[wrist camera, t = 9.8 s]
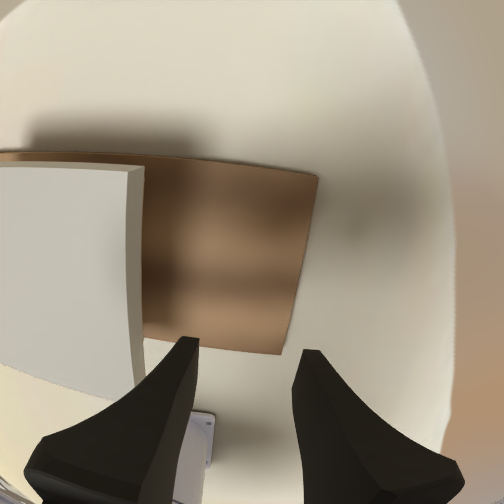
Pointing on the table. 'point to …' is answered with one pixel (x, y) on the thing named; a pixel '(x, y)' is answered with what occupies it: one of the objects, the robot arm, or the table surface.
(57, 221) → the slab
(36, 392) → the table surface
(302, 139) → the table surface
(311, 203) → the roller board
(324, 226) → the table surface
